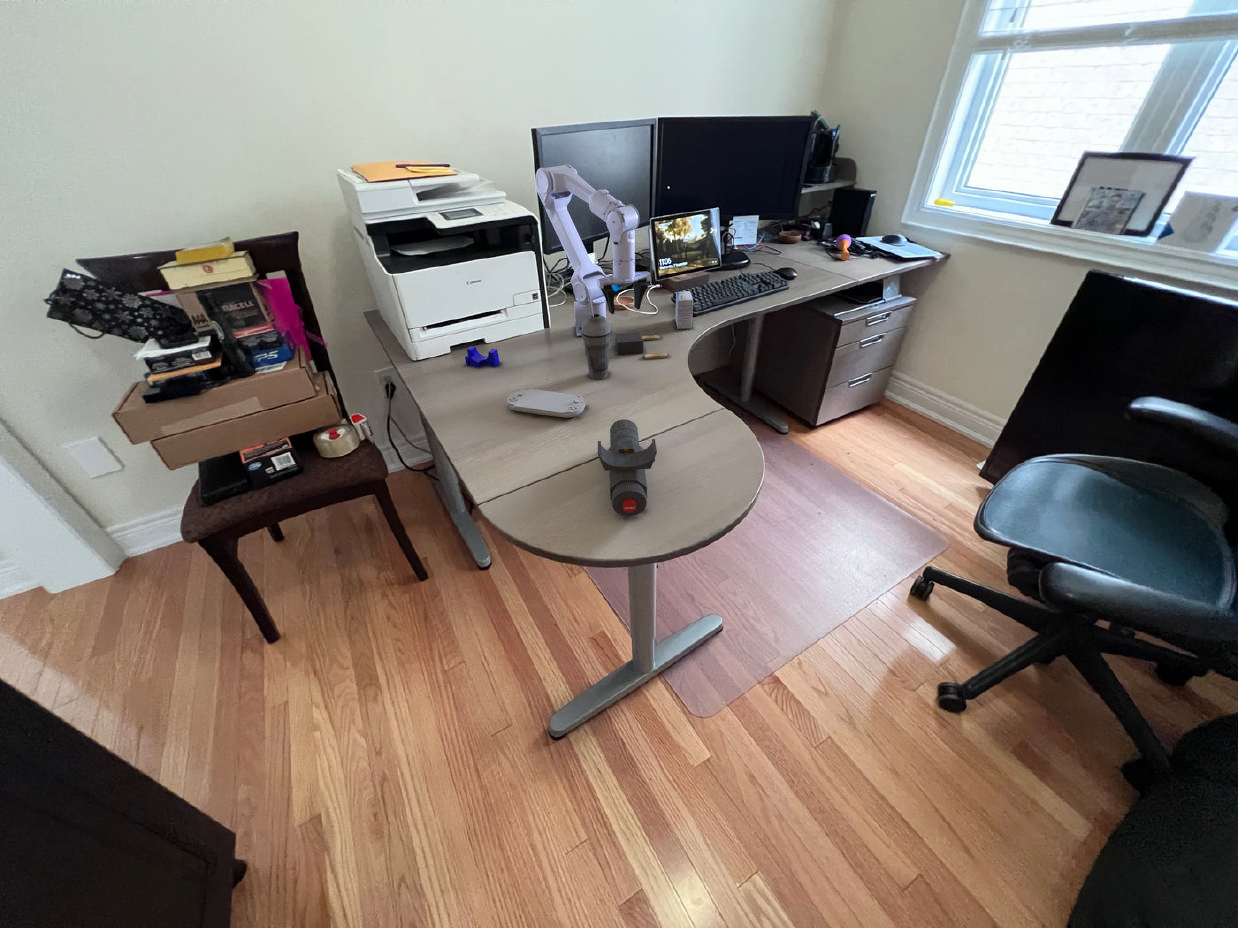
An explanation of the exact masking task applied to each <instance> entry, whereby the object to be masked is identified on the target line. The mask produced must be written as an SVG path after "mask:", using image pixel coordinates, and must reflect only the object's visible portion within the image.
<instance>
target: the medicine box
mask: <svg viewBox="0 0 1238 928" xmlns="http://www.w3.org/2000/svg"><path fill="white" fill-rule="evenodd" d="M693 310H694V299H693V296H692V292H691V291H684V290H683V291H676V294H675V314H674V315H675V316H674V317H675V323H676V329H678V330H687V329H688V330H689V329H691V330H692V329H693Z"/></svg>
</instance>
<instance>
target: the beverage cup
mask: <svg viewBox="0 0 1238 928" xmlns="http://www.w3.org/2000/svg"><path fill="white" fill-rule="evenodd" d="M588 298H589V304H590V310H591V315H590V316H588V317H587V318H586V319H585V320H584V322H583V325H582V331H581V334H582V336H581V337H582V341H583V344H584V351H585V357H586V363H587V367H588V374H589V377H590V378H591V379H593V380H603V379H605V378H607V377H608V375H609V374H608V373H609V360H610V341H611V336H612V335H611V334H612V327H611V324H610V322H609V320H608V319H607V317H606V318H605V317H604V316H602V315H600V314H593V309H592V303H591V297H590V296H588Z"/></svg>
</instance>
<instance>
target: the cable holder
mask: <svg viewBox="0 0 1238 928" xmlns="http://www.w3.org/2000/svg"><path fill="white" fill-rule="evenodd" d="M466 352H467V355H465V356H464V360H465V364H466V366H467V367H475V368H481V367H482V366H487V367H495V368H496V367H498V366H499V365H500V364H501V362H500V356H499V352H498V349H495V348H491V349H490V350H488V352H487V353H488V355H487V356H485V355H482V353H480V352H479V351H478V349H477V346H473V345H470V346H469V347H467V348H466Z"/></svg>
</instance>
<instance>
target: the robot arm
mask: <svg viewBox="0 0 1238 928" xmlns="http://www.w3.org/2000/svg"><path fill="white" fill-rule="evenodd" d="M534 188H535V190H536V192H537V194H538V196H539V199H540V200H541V203H542V205H543V207H544V208H545V212H546V214H547V216H548V219H549V221H550V223H551V225H552V228H553V229H554V231H555V234H556V235H557V238H558V240H559V242H560V244H561V246H562V248H563V250H564V252H565V254H566V256H567V258H568V261H569V263H570V265H571V267H572V269H573V271H574V272H573V274H572V276H571V278H570V283H571V286H572V290H573V294H574V297H575V299H576V301H573V309H574V322H573V323H574V328H575V332H576V337H582V334H581V331H582V325H583V322H584V320H585V319H586V318H587V317H588V316H590V315H591V310H590V304H589V298H588V296H590V297H591V303H592V309H593V314H600V315H602V316H604V317H605V318H606V319H607V308H608V313H610V314H611V315H615V296H616V290H615V289H614V287H615V286H619V285H625V284H632V286H633V295H634V296H633V297H634V298H633V303H634V304H633V305H634V308H635V309H636V310H640V309H641V305H642V302H643V298H644V295H645V293H646V291H647V290H648V288H649V281H651V272H649V271H648V270H647V271H636V257H635V255H636V252H635V251H636V245H635V243H636V242H635V241H636V239H635V238H636V235H635V232H636V231H635V230H636V229H637V228H638V227H639V225H640V218H641V217H640V213H639V211H638V209H637V208H636V207H635V205H633V204H632V203H628V204H624V203H623V202H622V201H621V200H620V199H616V198H615V196H612V195H611V194H610V191H609V190H607V189H604V188H603V189H597V190H596V189H595V188H593V186H591V185H590V184H589V183H588V182H587V181H586V180H585V179H584V178H582V177H581V176H580V175H579V174H578V171H577V169H576V168H574V167H573V166H571V165H570V164H569V163H566V164H563V165H556V166H549V167H539V168H538V169H537V171H536V173H535V179H534ZM573 195H574V196H576V198H577V197H578V198H579V199H580V200H582V201H583V202H585V203H587V204H588V207H589V208H588V209H589V211H590V212H591V213H592V214H594V215H595V216H596V217H598V218H599V219H601V220H602V221H603V222H605V223H606V227H607V230H608V231H609V238H610V240H611V245H612V246H611V251H612V252H611V253H612V274H611V275H607V274H606V273H605V272H604V271H603V269H602V267H601V266H599V265H597V264H596V263H593V262H592V260H591V258H590V256H589V253H588V251H587V249H586V247H585V245H584V243H583V241H582V239H581V236H580V234H579V232H578V230H577V228H576V226H575V224H574V222H573V219H572V217H571V215H570V213H569V210H568V208H567V207H568V204H569V203H570V202H571V200H572V197H573ZM606 307H607V308H606Z"/></svg>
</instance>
